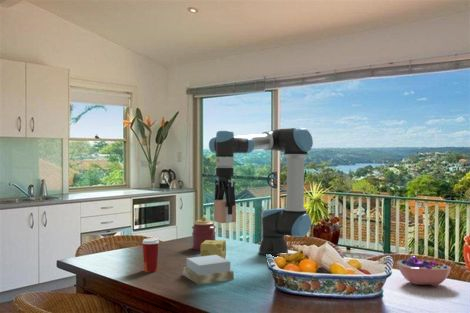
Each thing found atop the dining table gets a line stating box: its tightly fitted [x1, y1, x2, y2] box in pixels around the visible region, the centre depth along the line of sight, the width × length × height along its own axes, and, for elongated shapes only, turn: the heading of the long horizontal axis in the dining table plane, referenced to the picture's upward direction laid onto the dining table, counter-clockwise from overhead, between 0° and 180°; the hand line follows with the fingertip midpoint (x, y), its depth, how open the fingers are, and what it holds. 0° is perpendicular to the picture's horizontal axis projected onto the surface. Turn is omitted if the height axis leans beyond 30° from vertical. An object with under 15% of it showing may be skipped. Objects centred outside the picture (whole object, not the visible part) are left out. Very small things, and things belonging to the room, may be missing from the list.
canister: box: [191, 216, 217, 252], centre depth 250 cm, size 13×13×18 cm
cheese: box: [199, 239, 227, 259], centre depth 219 cm, size 10×11×10 cm
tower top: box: [186, 255, 231, 275], centre depth 193 cm, size 14×14×4 cm
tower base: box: [182, 266, 235, 286], centre depth 193 cm, size 16×16×4 cm
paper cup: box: [141, 237, 160, 273], centre depth 204 cm, size 8×8×14 cm
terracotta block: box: [213, 199, 237, 224], centre depth 194 cm, size 7×7×9 cm
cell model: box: [396, 255, 452, 287], centre depth 181 cm, size 17×20×11 cm
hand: (224, 220), depth 194 cm, fingers closed on terracotta block, 7 cm apart
